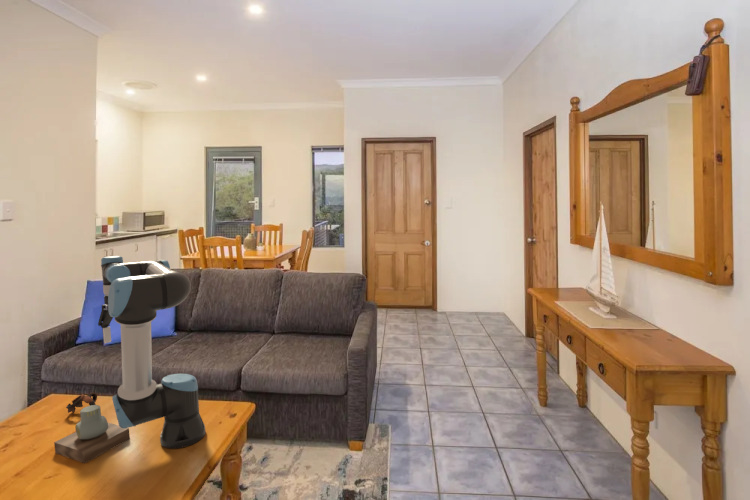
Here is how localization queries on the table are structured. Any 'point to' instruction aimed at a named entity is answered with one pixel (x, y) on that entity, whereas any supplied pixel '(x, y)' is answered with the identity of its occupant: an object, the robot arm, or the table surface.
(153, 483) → the table surface
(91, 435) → the air freshener
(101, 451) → the walnut stand
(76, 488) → the table surface
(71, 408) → the brown curved piece
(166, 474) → the table surface
